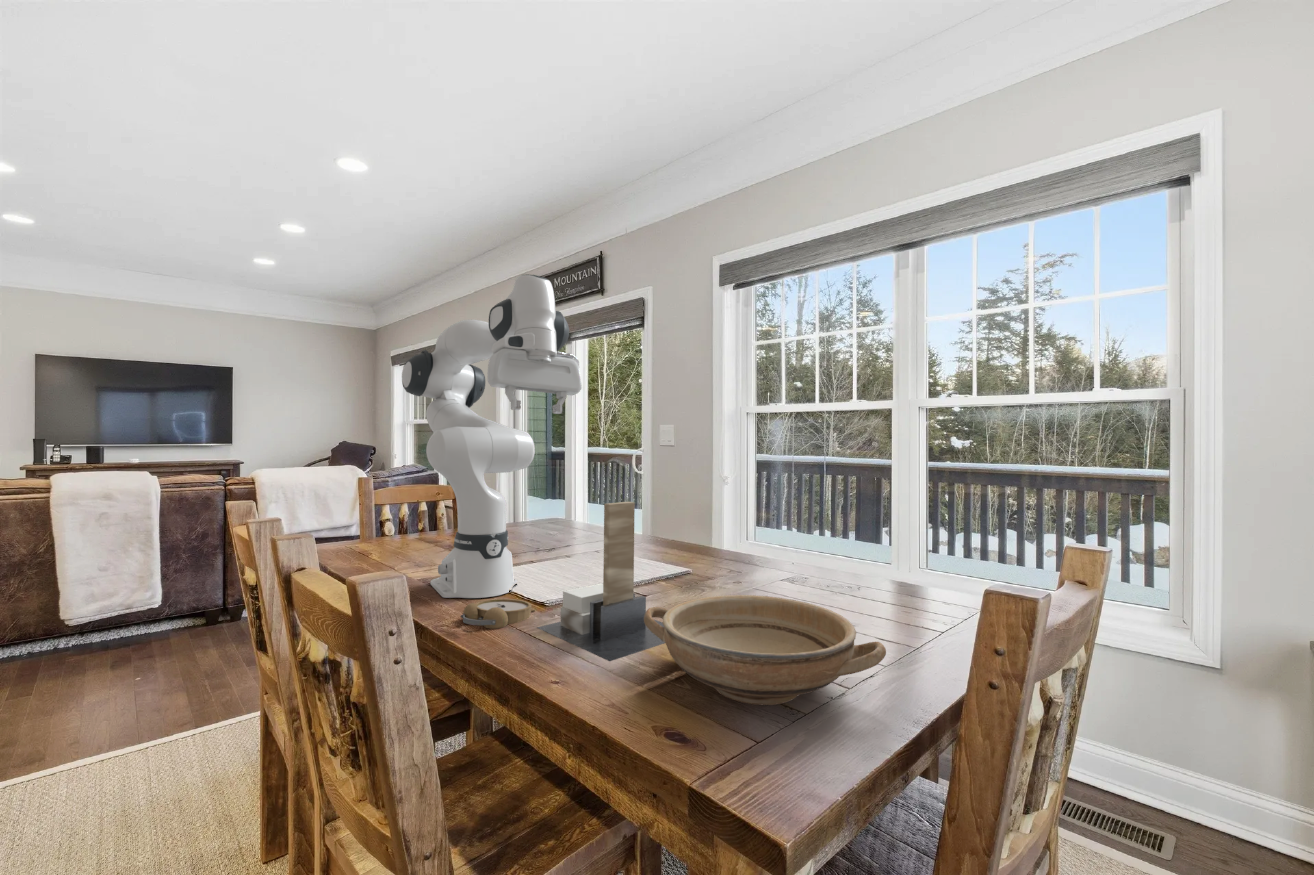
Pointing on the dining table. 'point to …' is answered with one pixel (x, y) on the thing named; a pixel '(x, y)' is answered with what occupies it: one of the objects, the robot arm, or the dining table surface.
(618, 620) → the slot rack
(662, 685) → the dining table surface
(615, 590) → the birch board
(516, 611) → the alarm clock
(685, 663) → the ceramic bowl
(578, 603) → the offcut upper
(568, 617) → the offcut lower
